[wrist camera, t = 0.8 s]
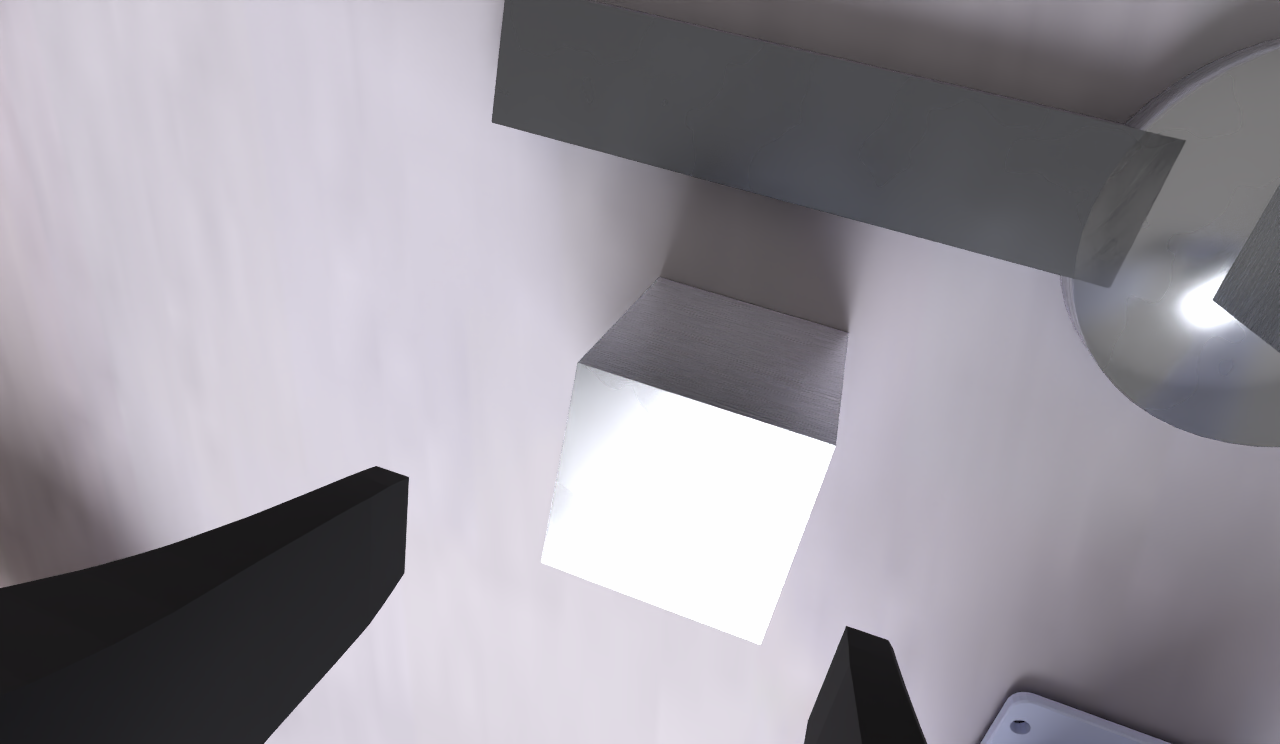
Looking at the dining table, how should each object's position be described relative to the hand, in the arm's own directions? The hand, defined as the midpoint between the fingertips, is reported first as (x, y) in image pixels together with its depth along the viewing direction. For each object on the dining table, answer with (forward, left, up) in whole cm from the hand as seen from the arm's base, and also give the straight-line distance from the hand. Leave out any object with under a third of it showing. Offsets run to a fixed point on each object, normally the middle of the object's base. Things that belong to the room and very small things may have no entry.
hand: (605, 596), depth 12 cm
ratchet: (+7, -4, -10) cm, 12 cm away
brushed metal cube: (-1, 0, -10) cm, 10 cm away
